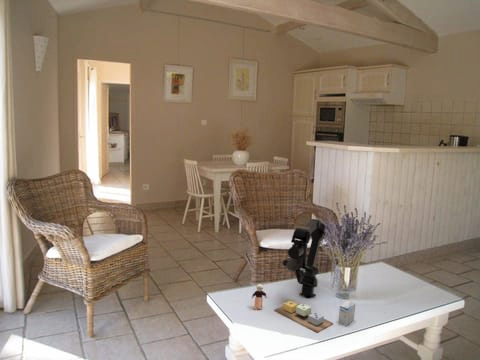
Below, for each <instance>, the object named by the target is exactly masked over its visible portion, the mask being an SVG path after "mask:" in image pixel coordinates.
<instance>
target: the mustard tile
mask: <svg viewBox="0 0 480 360" xmlns="http://www.w3.org/2000/svg"><path fill="white" fill-rule="evenodd" d="M298 305H299V303H297V302H294V301H292V300H288V301H286V302H283V306H284V310H286V311H288V312H290V313H293V312H295V311H296V306H298Z"/></svg>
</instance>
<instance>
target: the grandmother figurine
mask: <svg viewBox="0 0 480 360" xmlns="http://www.w3.org/2000/svg"><path fill="white" fill-rule="evenodd" d="M263 289H264V286H263V285H262V284H261V283H259V284H257V285H256V291H254V292H253V293H252V295H251V300H252V299H254V304H253V305H254V307H253V309H252V310H255V311H257V310H263V301H264V299H263V297H264V298H265V299H267V298H268V296H267V293H266V292H265V291H263ZM254 297H255V298H254Z"/></svg>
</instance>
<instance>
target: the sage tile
mask: <svg viewBox="0 0 480 360" xmlns="http://www.w3.org/2000/svg"><path fill="white" fill-rule="evenodd" d="M311 311H312V307H311V306H310V305H307V304H305V303H300V304H298V306H296V313H298V314H300V315H302V316H306V315H308V314H310V313H312V312H311Z"/></svg>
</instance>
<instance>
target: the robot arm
mask: <svg viewBox="0 0 480 360" xmlns="http://www.w3.org/2000/svg"><path fill="white" fill-rule="evenodd" d="M325 229H327V230H328V228H327V226H326V225H325V224H324V223H322V221H321V220H320V219H316V218H315V219H314V218H311V219H310V220H309V222H307V223H306V224H305V225H303V226H298V227H296V228H295V229H294V230H293V234H292V237H291V240H290V243H292V245H291V247H289V249H288V251H287V255H288V257H289V258H284V259H283V260H282V266H284V267H286V268H287V270H288V271H291V272H294V274H295V277H296V280H297V283H298V284H299V285H301V292H299V293H298V294H299V296H302V297H304V298H306V299H308V300H309V299H311V298H314V297H315V296H316V295H317V294H315V293H314V292H315V291H314V290H315V288H317V287H318V281H319V280H318V278H317V275H318V274H319V268H318V267H316V262H317V258H318V254H319V250H320V246H321V245H320V244H321V243H322V242H323V241H324V239H325V238H324V236H325V237H326V235H325ZM310 240H311V242H310ZM309 243H310V246H309V250H308V244H309Z"/></svg>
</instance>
